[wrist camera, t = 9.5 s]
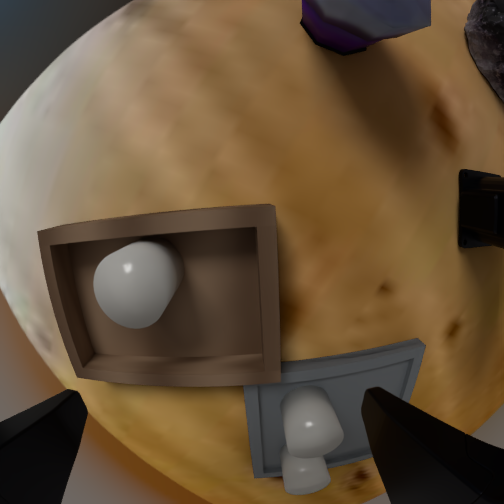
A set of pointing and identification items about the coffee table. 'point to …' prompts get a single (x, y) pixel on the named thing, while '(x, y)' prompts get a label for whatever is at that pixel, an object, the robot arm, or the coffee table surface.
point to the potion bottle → (361, 21)
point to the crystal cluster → (488, 40)
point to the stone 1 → (138, 281)
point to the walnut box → (174, 299)
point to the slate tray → (340, 394)
